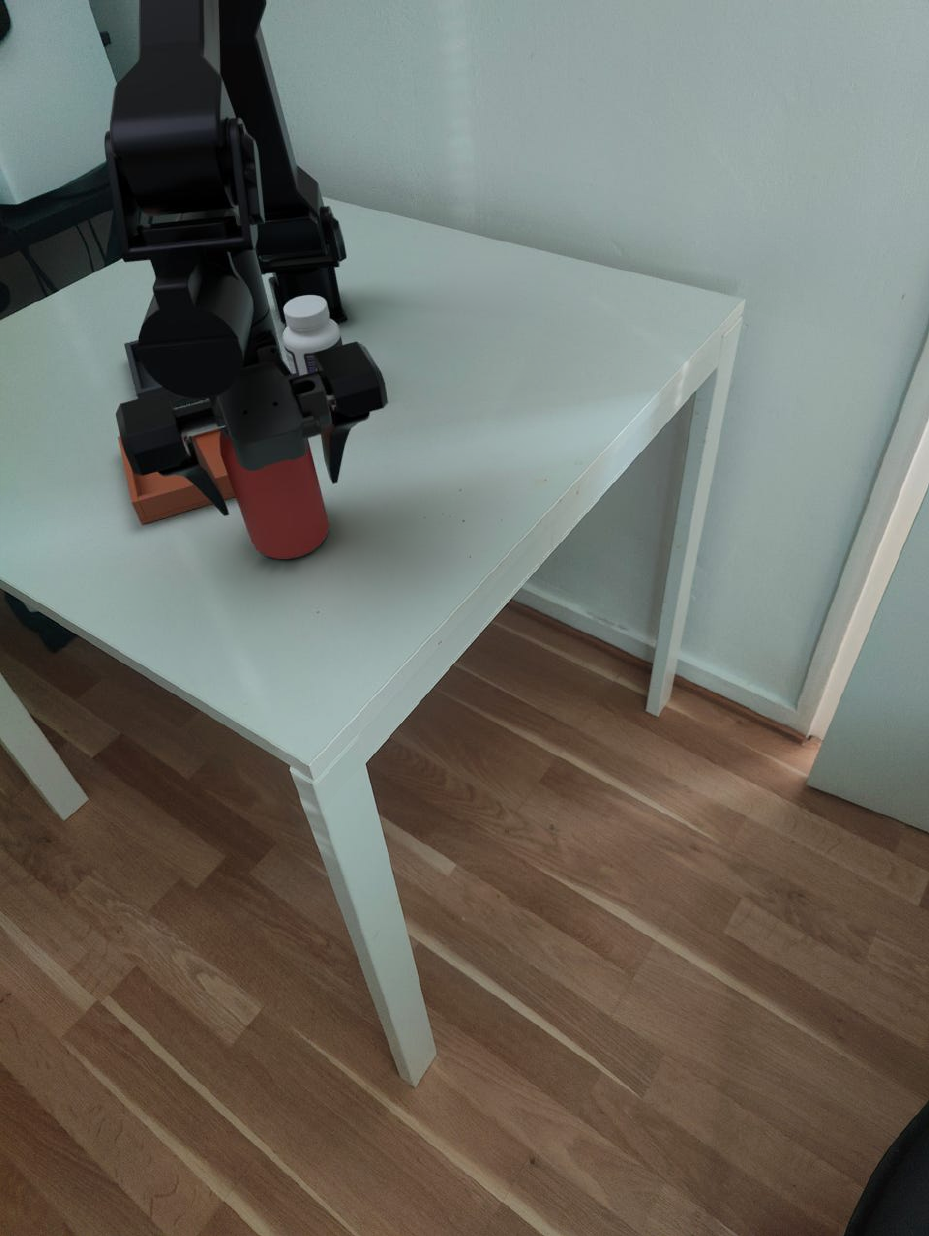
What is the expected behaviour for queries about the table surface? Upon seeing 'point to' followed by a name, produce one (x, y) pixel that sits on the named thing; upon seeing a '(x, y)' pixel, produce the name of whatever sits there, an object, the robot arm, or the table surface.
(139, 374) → the can tray
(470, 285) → the table surface
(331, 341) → the pill bottle
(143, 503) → the tray
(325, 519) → the beer can
